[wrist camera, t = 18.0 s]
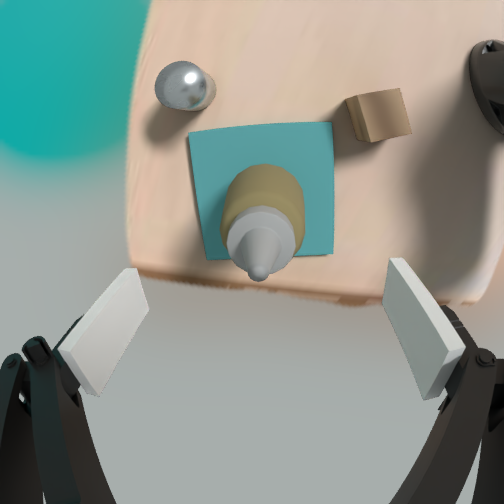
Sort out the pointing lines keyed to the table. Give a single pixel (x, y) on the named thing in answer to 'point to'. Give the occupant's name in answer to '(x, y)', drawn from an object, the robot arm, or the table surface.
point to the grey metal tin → (185, 87)
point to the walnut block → (378, 115)
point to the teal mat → (266, 152)
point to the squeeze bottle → (263, 220)
